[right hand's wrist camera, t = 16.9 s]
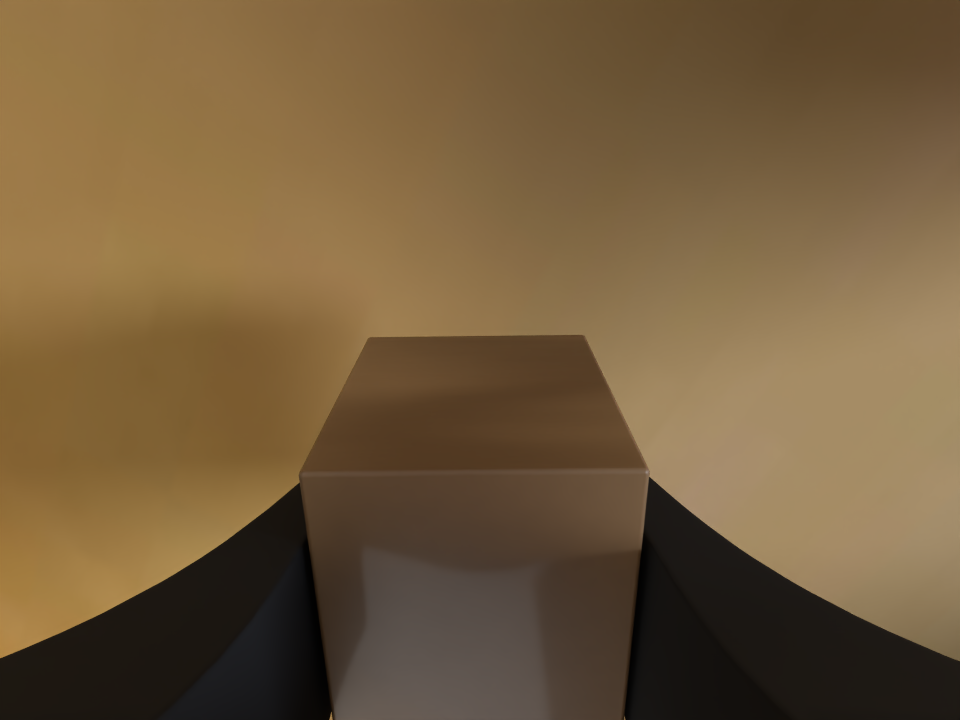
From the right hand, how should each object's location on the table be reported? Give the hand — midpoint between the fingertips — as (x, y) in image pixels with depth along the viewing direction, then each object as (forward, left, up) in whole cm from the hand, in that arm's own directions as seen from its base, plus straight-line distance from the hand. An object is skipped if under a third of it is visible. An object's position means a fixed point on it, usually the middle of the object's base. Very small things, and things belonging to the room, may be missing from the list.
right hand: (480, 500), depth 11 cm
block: (0, 0, -1) cm, 1 cm away
